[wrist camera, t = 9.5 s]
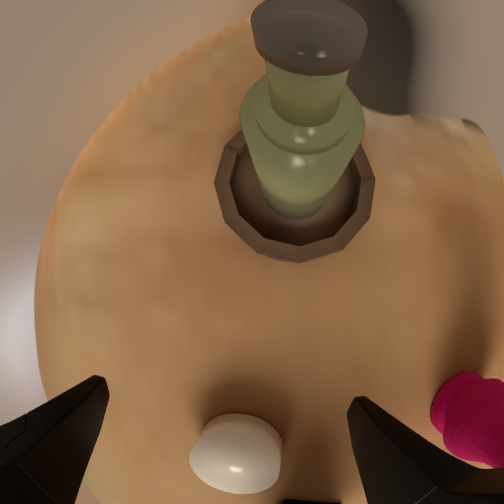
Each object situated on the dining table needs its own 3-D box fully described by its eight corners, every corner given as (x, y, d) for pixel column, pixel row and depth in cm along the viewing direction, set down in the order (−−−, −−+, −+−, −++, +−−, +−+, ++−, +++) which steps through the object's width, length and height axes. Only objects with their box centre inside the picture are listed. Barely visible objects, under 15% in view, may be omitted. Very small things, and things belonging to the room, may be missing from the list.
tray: (373, 142, 20) (381, 130, 17) (350, 277, 19) (358, 278, 17) (242, 114, 21) (238, 100, 19) (206, 242, 21) (197, 239, 18)
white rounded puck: (239, 399, 19) (229, 423, 16) (299, 446, 19) (298, 473, 15) (186, 435, 20) (172, 458, 17) (242, 477, 19) (235, 502, 16)
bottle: (339, 174, 19) (418, 18, 4) (310, 231, 19) (379, 128, 4) (280, 146, 20) (265, -31, 5) (250, 200, 20) (170, 54, 5)
